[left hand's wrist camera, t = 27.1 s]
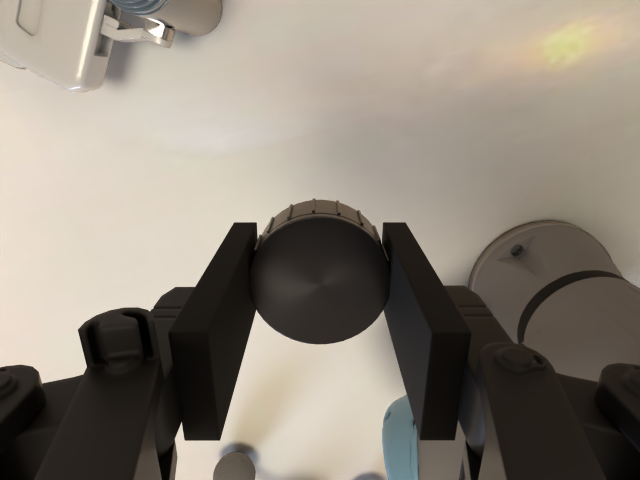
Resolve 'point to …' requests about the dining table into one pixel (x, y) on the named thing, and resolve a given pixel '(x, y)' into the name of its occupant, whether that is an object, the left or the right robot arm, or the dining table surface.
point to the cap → (319, 273)
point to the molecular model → (234, 467)
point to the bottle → (177, 13)
